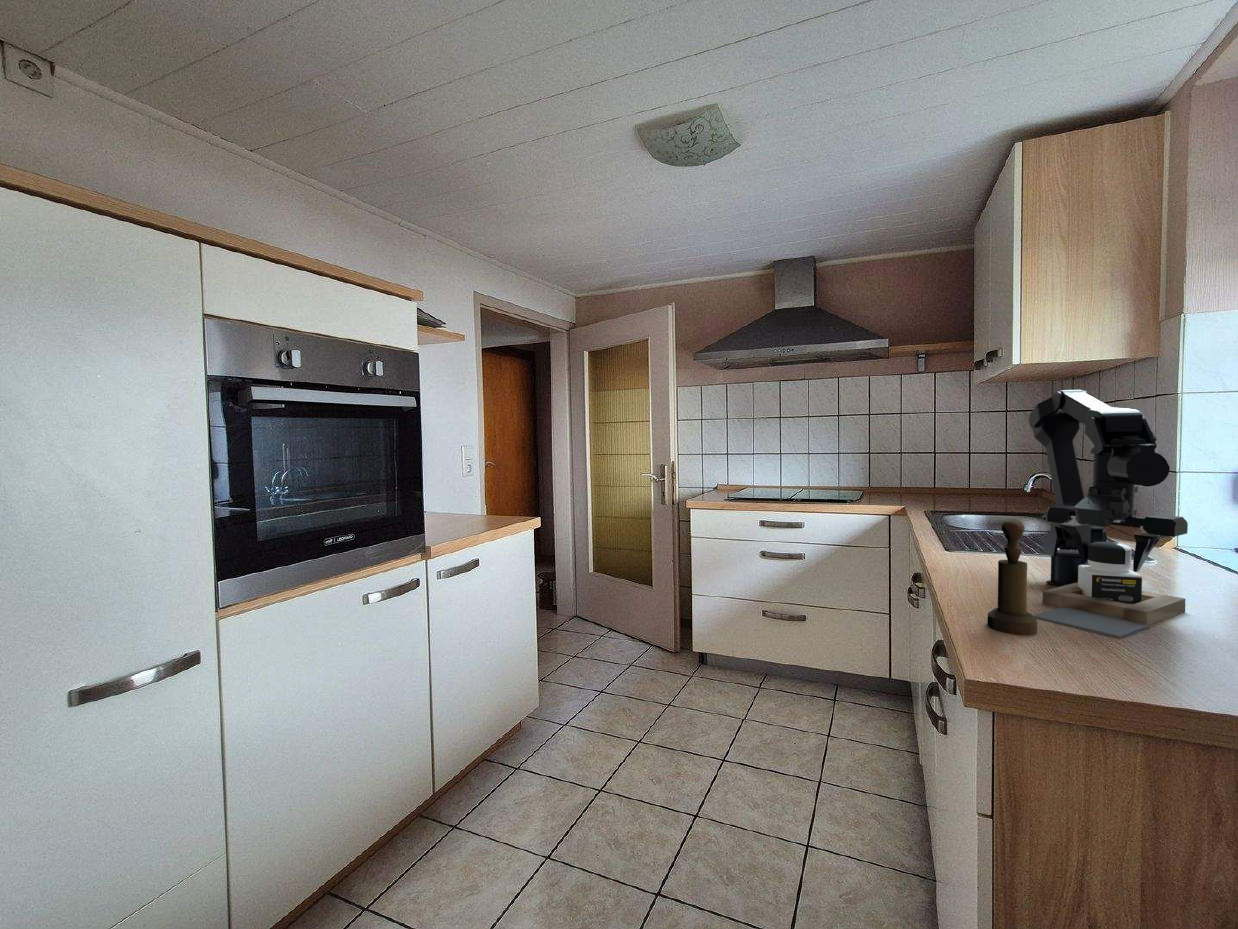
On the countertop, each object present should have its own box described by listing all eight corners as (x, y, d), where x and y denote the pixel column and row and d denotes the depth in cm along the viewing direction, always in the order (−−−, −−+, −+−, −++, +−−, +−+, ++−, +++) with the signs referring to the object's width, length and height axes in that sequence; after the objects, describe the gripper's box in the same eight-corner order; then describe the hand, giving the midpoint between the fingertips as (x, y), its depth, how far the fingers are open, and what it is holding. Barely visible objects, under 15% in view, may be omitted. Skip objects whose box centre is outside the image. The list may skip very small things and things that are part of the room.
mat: (1032, 619, 98) (1033, 615, 98) (1063, 609, 103) (1063, 606, 103) (1120, 640, 88) (1120, 636, 88) (1149, 628, 92) (1149, 625, 92)
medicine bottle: (1091, 612, 103) (1092, 545, 102) (1077, 601, 110) (1078, 539, 109) (1142, 616, 100) (1143, 547, 100) (1124, 605, 107) (1125, 540, 106)
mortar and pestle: (1029, 625, 95) (1030, 517, 94) (1043, 638, 89) (1045, 523, 88) (982, 622, 97) (983, 516, 96) (993, 634, 91) (995, 521, 90)
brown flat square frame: (1042, 604, 106) (1042, 591, 106) (1083, 593, 113) (1083, 580, 113) (1146, 627, 93) (1146, 612, 93) (1185, 612, 100) (1185, 598, 100)
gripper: (1031, 479, 107) (1028, 562, 108) (1162, 488, 91) (1157, 586, 92) (1062, 476, 112) (1059, 555, 113) (1191, 484, 96) (1186, 576, 97)
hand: (1109, 567), depth 104 cm, fingers open, 7 cm apart
